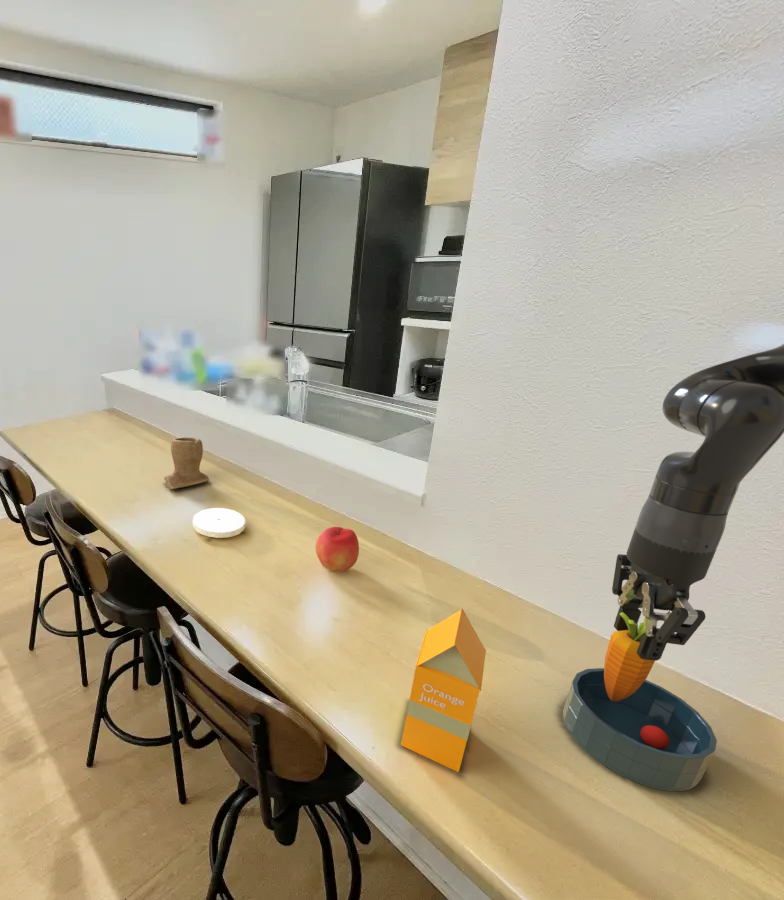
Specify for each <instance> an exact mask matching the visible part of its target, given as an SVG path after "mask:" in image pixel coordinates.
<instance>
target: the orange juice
mask: <svg viewBox="0 0 784 900" xmlns="http://www.w3.org/2000/svg"><path fill="white" fill-rule="evenodd" d="M486 652H487V650H486V648H485V647H484V644H483V643H482V641H481V639H480V637H479V636H478V634H477V631H476V630H475V629H474V627H473V625H472V623H471V621H470V619H469V618H468V616H467V613H466V612H465V610H464V609H463V607H461V609H460V610H458V611H456V612H454V613H453V614H451V615H450V616H448V617H447V618H444V619H443V620H442V621H440V622H438V623H436V624H435V625H433V626H432V627H430V628H428V629H426V631H425V633H424V637H423V640H422V643H421V646H420V649H419V653H418V657H417V659H416V663H415V666H414V667H415V669H414V673H413V680H412V684H411V685H412V686H411V691H410V695H409V699H408V704H407V710H406V715H405V716H406V717H405V721H404V727H403V731H402V737H401V742H400V746H402V747H404V748H406V749H407V750H410V751H412V752H414V753H416V754H418V755H421V756H423V757H425V758H427V759H429V760H430V761H433V762H435V763H438V764H440V765H442V766H444V767H446V768H448V769H451V770H453V771H454V772H457V773H460V769H461V766H462V761H463V757H464V753H465V750H466V747H467V742H468V739H469V735H470V731H471V727H472V722H473V718H474V714H475V710H476V707H477V703H478V699H479V696H480V692H482V686H483V677H484V671H485V670H484V669H485V663H486V661H485V660H486V654H487V653H486Z"/></svg>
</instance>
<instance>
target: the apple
mask: <svg viewBox="0 0 784 900" xmlns="http://www.w3.org/2000/svg"><path fill="white" fill-rule="evenodd" d="M315 553H316V556H317V559H318V561H319V562H320V564H321V565H322V567H323V568H324V569H326V570H327V571H329V572H334V573H335V572H336V573H337V572H344V571H345V572H346V571H348V570H349V569H351V568H352V567H353V566H354V565H355V564H356V563H357V561H358V559H359V555H360V544H359V539H358V536H357V534H356V532H355V531H354V530H352V529H350V528H344V527H341V526H331V527H327V528H326V529H323V530H322V531H321V532H320V533H319V534H318V536H317V538H316V540H315Z"/></svg>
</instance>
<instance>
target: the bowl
mask: <svg viewBox="0 0 784 900" xmlns="http://www.w3.org/2000/svg"><path fill="white" fill-rule="evenodd" d="M562 718H563V722H564V725H565V726H566V730H567V731H568V732H569V734H570V735H571V737H572V738H573V740H574V741H575V742H576V743H577V745H579V746H580V747H581V748H582V749H583V750H584V751H585V752H586V753H587V754H589V755H590V756H591V757H592V758H593V759H594V760H596V761H597V762H599V763H600V764H601V765H603V766H605V768H608V769H609V770H611V771H612V772H614V773H616V774H618V775H619V776H621V777H622V778H625V779H627V780H630V781H632V782H634V783H637V784H640V785H642V786H645V787H648V788H652V789H655V790H659V791H666V792H684V791H689V790H691V789H693V788H694V787H696V786H698V784H699V782H700V781H701V780H702V779H703V777H704V775H705V772H706V770H707V769H708V766H709V764H710V762H711V760H712V758H713V756H714V754H715V753H716V748H717V742H718V740H717V737H716V735H715V733H714V731H713V729H712V726H711V725H710V724H709V723H708V722H707V720H705V718H704V717H703V716H702V715H701V713H700V712H699V711H698V710H696V709H695V708H694V707H692V706H691V705H690V704H689V703H687V702H686V701H685V700H683V699H682V698H681V697H679V696H678V695H676V694H675V693H672V692H671V691H669V690H668V689H666V688H664V687H663V686H661V685H659V684H656V683H654V682H652V681H650V680H647V679H646V680H645V681H644V682H643V683H642V685H641V686H640V687H639V688H638V689H637V690H636V692H635V693H633V694H632V695H630V696H629V697H627V698H625V699H623V700H621V701H618V702H613V701H611V700H610V699H609V697H608V694H607V691H606V687H605V681H604V667H600V668H599V667H598V668H597V667H596V668H586V669H584V670H581V671H579V672H577V673H576V674H575V676H574V678H573V680H571V684H570V687H569V690H568V693H567V696H566V699H565V702H564V705H563V712H562ZM647 725H652V726H656V727H658V728H660V729H662V730H663V731H664V732H665V733H666V734H667V736H668V738H669V745H668V747H667V748H665V749H662V750H658V749H655V748H652V747H650V746H648V745H646V744H645V743H644V742H643V740H642V738H641V736H640V731H641V729H642V728H643V727H644V726H647Z"/></svg>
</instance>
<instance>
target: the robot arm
mask: <svg viewBox="0 0 784 900" xmlns="http://www.w3.org/2000/svg"><path fill="white" fill-rule="evenodd" d="M662 413H663V417H664V418H665V419H666V420H667V421H668V422H669V423H670V424H671V425H673V426H675V427H677V428H679V429H681V430H684V431H687V432H689V433H692V434H696V435H698V436H701V437H704V440H703V442H702V443H701V444H700V446H699V447H698V448H697V449H696V450H695V451H676V452H672V453H669V454H667V455H665V456H664V458H662V460H661V462H660V464H659V465H658V469H657V471H656V474H655V477H654V480H653V481H652V484H651V488H650V491H649V494H648V496H647V499H646V500H645V502H644V503H643V505H642V507H641V510H640V512H639V515H638V518H637V521H636V524H635V526H634V530H633V533H632V535H631V538H630V542H629V544H628V547H627V551H626V554H620V553H619V554H617V556H616V560H615V566H614V567H615V568H614V574H613V581H612V586H611V587H612V588H611V591H612V594H613V595H614V596H618V598H617V605H618V606H619V608H618V611H617V614H616V616H615V621H614V623H613V628H614V629H615V631H622V630H629V629H628V626H627V624H626V622H625V621H624V619H623V618H622V617H621V616H620V615H619V614H620V613H622V612H623V613H624V614H626V615H627V617H628V618H629V619H630V620H633V621H634V622H635V623H637V624H638V623H639V620H640V618H641V615H642V616H643V617H644V618H645V617H646V629H645V632H644V634H643V637H642V639H641V642H640V644H639V647H638V650H637V654H638V656H639V657H640V658H641V659H646V660H653V661H655V662H657V661H659V660H660V659H662V657H663V654H664V651H665V648H666V646H667V644H671V645H677V646H678V645H679V646H685V645H686V644H687V642H688V641H689V640H690V639H691V637H692V636H693V635H694V633H695V632H696V631H697V630H698V628H699V627H700V626H701V625H702V624H703V622H704V621H705V620H706V617H707V616H706V613H705V611H704V610H701V609H694V607H693V606H692V604H690V602H689V599H690V588H691V586H692V585H693V584H696V583H698V582H700V581H702V580H704V578H706V576H707V573H708V571H709V569H710V566H711V565H712V561H713V560H714V556H715V554H716V552H717V549H718V547H719V545H720V542H721V541H722V537H723V534H724V532H725V529H726V524H727V519H728V515H729V512H730V509H731V507H732V504H733V502H734V499H735V497H736V494H737V492H738V490H739V487H740V484H741V482H742V481H743V480H744V479H745V477H747V475H748V474H749V473H750V472H751V471H752V470H753V469H754V468H755V467H756V466H757V465H758V463H759V462H760V461H761V460H762V459H763V458H764V457H765V455H766V454H767V453H768V452H770V450H771V449H772V448H773V447H774V445H775V444H777V442H779V440H780V439H781V437H782V436H783V435H784V343H782V344H781V345H779V346H776V347H774V348H769V349H767V350H763V351H759V352H755V353H752V354H748V355H745V356H741V357H738V358H735V359H731V360H728V361H724V362H721V363H718V364H714V365H712V366H709V367H706V368H703V369H701V370H698V371H696V372H694V373H691V374H690V375H688V376H686V377H684V378H683V379H682V380H680V381H678V382H677V383H676V384H675V385H674V386H673V387H671V389H670V390H669V391H668V393H667V394H666V395H665V397H664V398H663V402H662ZM623 581H626V582H625V583H624V584H623ZM641 609H642V610H641ZM655 610H659V611H668V612H659V611H655ZM658 621H660V622H661V621H662V622H663V623H662V624H661V626H660V627H659V628H658V627H657V626H658Z"/></svg>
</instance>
